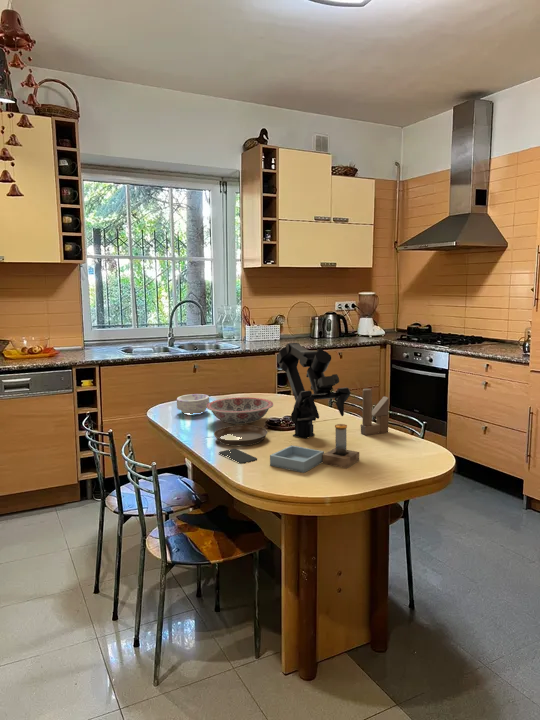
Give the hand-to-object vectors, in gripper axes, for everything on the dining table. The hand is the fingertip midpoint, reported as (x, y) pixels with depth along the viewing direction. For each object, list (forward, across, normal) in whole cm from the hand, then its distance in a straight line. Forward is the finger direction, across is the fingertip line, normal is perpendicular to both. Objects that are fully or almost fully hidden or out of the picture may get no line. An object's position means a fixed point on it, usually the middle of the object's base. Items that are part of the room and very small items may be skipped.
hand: (330, 416), depth 183 cm
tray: (+13, -14, +7) cm, 20 cm away
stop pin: (+15, 0, +4) cm, 16 cm away
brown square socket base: (+15, 0, +4) cm, 16 cm away
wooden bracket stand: (-4, +28, +23) cm, 36 cm away
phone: (+3, -31, +17) cm, 35 cm away
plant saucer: (-11, -24, +31) cm, 41 cm away
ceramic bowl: (-30, -18, +50) cm, 60 cm away
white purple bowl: (-47, -34, +66) cm, 88 cm away
